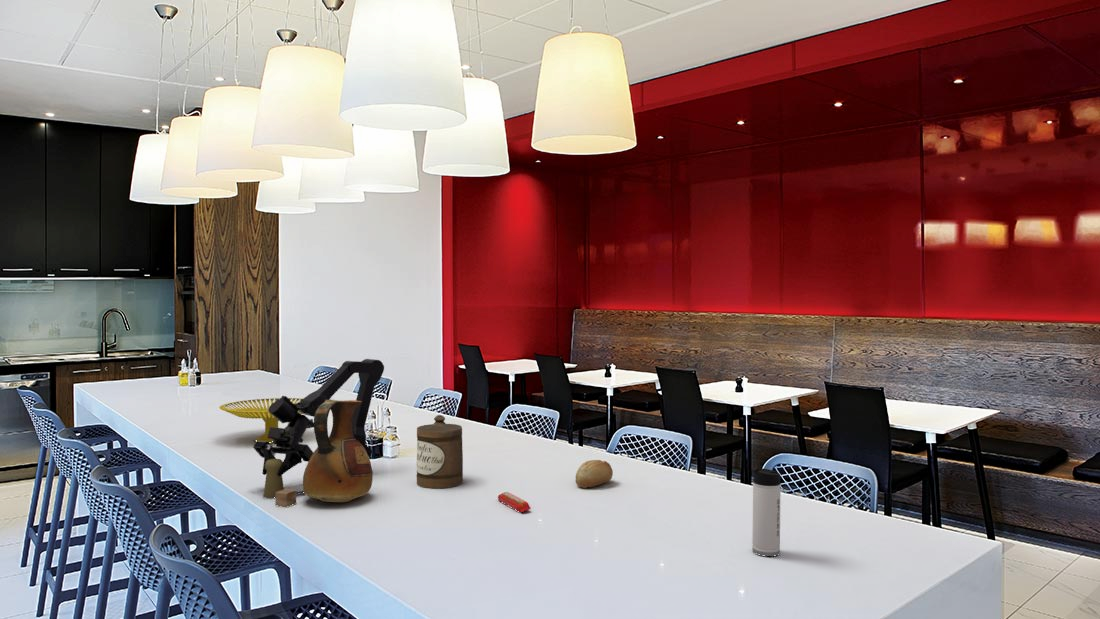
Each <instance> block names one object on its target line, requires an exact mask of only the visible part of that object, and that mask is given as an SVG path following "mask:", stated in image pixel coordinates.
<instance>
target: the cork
mask: <svg viewBox="0 0 1100 619" xmlns="http://www.w3.org/2000/svg"><path fill="white" fill-rule="evenodd" d="M283 461H284V460H282V459H281V458H276V459H270V460H267V461H266V463H265V469H266V470H267V473H266V476H265V480H264V488H263V496H264V497H266V498H265V499H275V498H274V497H275V492H278V491H281V490H284V487H285V486H284V481H283V474H282V475H281V476H278V475H277V474H278V471H279V469H280V467H281V465H282V463H283ZM264 497H263V498H264Z"/></svg>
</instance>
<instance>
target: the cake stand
mask: <svg viewBox="0 0 1100 619" xmlns="http://www.w3.org/2000/svg"><path fill="white" fill-rule="evenodd" d="M288 398H289V400H290V401H291V402H292V403H293V404H295V403H299V402H301V400H302V399H303V398H301V397H300V398H295V397H288ZM278 399H280V397H278V398H277V397H273V398H258V399H257V398H255V399H245V400H239V401H234V402H232V401H231V402H228V403H224V404H221V405H220V406H219V407H218V408H219V409H220V410H221V411H225V412H226V413H229V414H231V415H234V416H236V417H238V418H243V419H262V420H263V422H264V428H265V429H264V430H265V431H264V434H262V435H260V436H259V437H256V438H255V439H256V440H257V441H268V442H272V441H274V440H273V439H271V438H267V435H268V432H269V428H270V427H273V428H279V422H280V421H279V420H278V419H276V418H275V417H274V416H273V415H272V414H270V413H269V411H268V410H269V407H270V405H271V404H272V403H274V402H275V401H276V400H278ZM253 403H254V404H253ZM262 405H263V406H262ZM298 413H299V414H301V415H303V414H302V413H301V412H298Z"/></svg>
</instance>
